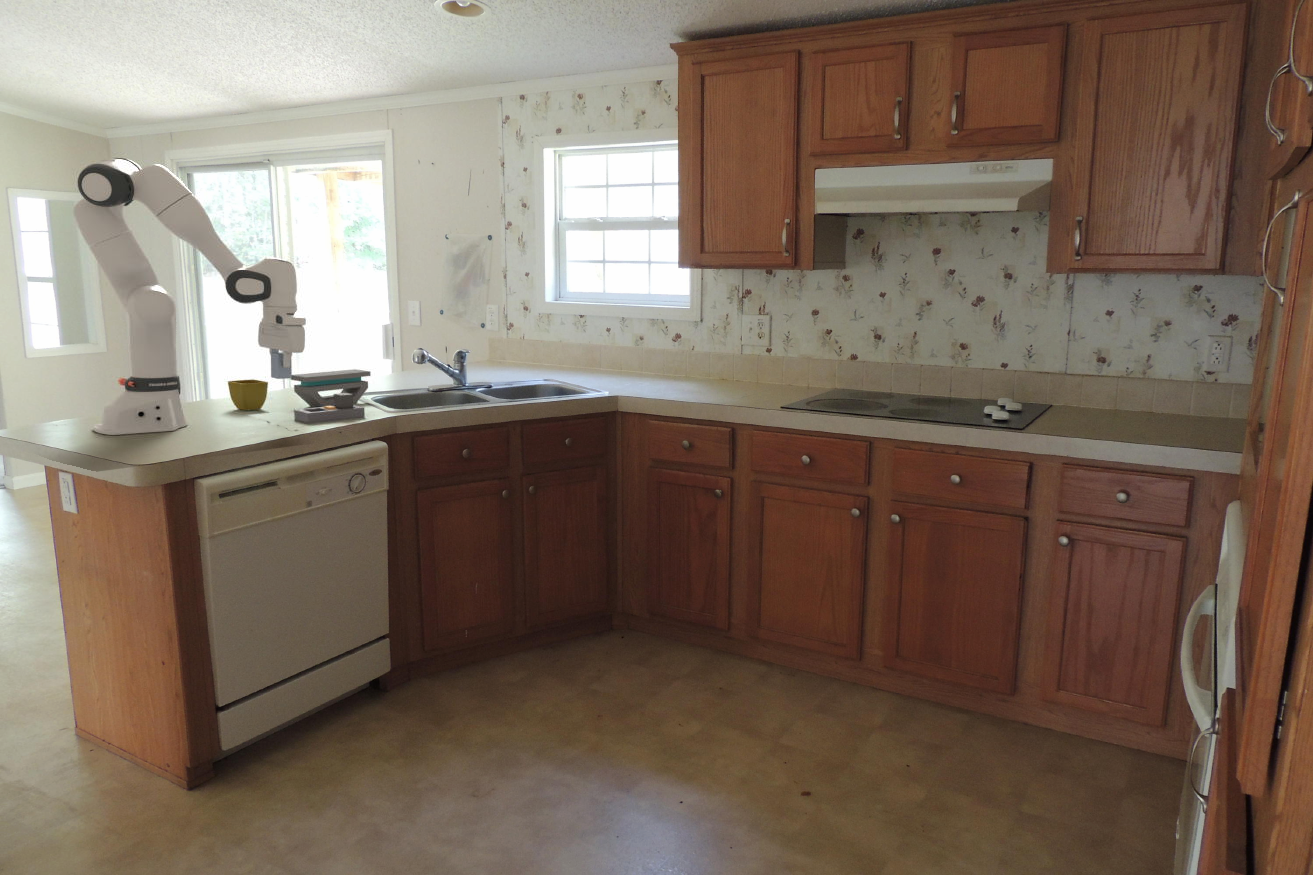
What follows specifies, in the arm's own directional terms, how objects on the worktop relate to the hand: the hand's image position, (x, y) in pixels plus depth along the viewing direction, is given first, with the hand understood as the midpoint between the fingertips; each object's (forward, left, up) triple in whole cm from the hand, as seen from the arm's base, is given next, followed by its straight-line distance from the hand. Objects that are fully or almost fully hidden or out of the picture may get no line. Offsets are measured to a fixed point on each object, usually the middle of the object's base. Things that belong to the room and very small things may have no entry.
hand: (280, 366), depth 251 cm
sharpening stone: (+30, +27, -18) cm, 44 cm away
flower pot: (+6, +35, -18) cm, 40 cm away
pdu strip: (+14, 0, -18) cm, 23 cm away
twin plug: (+19, 0, -17) cm, 25 cm away
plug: (0, 0, -3) cm, 3 cm away
